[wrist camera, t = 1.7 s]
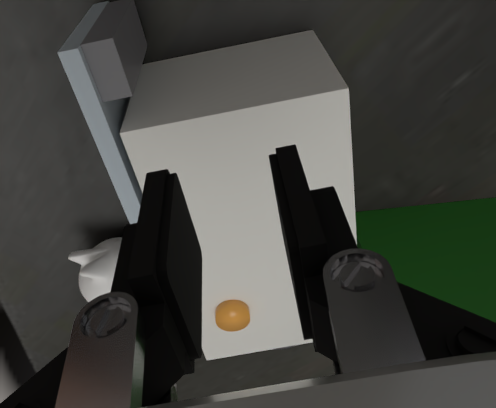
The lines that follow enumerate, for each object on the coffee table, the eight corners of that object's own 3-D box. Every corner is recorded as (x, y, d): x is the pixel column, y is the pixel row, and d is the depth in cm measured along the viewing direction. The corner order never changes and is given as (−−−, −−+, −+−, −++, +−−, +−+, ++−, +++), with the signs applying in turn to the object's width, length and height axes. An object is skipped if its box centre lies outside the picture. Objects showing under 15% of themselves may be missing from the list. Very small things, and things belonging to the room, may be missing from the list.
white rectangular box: (139, 64, 33) (116, 140, 24) (312, 29, 32) (352, 94, 23) (210, 283, 46) (211, 384, 37) (334, 261, 45) (365, 358, 37)
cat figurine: (80, 302, 33) (127, 402, 40) (209, 233, 37) (231, 333, 44) (44, 244, 39) (89, 339, 46) (158, 190, 43) (184, 285, 50)
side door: (93, 3, 30) (57, 52, 22) (134, -5, 29) (110, 41, 22) (165, 205, 39) (156, 285, 32) (195, 199, 39) (194, 278, 32)
